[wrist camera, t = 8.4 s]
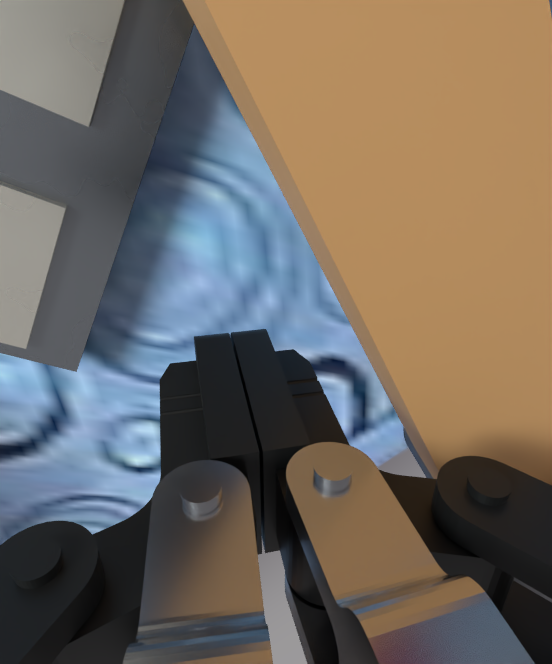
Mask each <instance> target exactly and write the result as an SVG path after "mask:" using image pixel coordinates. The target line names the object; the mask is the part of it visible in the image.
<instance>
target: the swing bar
mask: <svg viewBox="0 0 552 664" xmlns="http://www.w3.org/2000/svg"><path fill="white" fill-rule="evenodd" d="M183 2H184V4H185V6H186V8H187V10H188V12H189V14H190V16H191V17H192V19H193V21H194V23H195V25H196V27H197V29H198V31H199V33H200V35H201V37H202V39H203V41H204V43H205V44H206V46H207V48H208V50H209V52H210V54H211V56H212V58H213V60H214V62H215V64H216V66H217V68H218V70H219V71H220V73H221V75H222V77H223V79H224V81H225V83H226V85H227V87H228V89H229V91H230V93H231V95H232V97H233V98H234V100H235V102H236V104H237V106H238V108H239V110H240V112H241V114H242V116H243V118H244V120H245V122H246V124H247V125H248V127H249V129H250V131H251V133H252V135H253V137H254V139H255V141H256V143H257V145H258V147H259V149H260V151H261V152H262V154H263V156H264V158H265V160H266V162H267V164H268V166H269V168H270V170H271V172H272V174H273V176H274V178H275V179H276V181H277V183H278V185H279V187H280V189H281V191H282V193H283V195H284V197H285V199H286V201H287V203H288V205H289V206H290V208H291V210H292V212H293V214H294V216H295V218H296V220H297V222H298V224H299V226H300V228H301V230H302V232H303V233H304V235H305V237H306V239H307V241H308V243H309V245H310V247H311V249H312V251H313V253H314V255H315V257H316V259H317V260H318V262H319V264H320V266H321V268H322V270H323V272H324V274H325V276H326V278H327V280H328V282H329V284H330V286H331V287H332V289H333V291H334V293H335V295H336V297H337V299H338V301H339V303H340V305H341V307H342V309H343V311H344V313H345V314H346V316H347V318H348V320H349V322H350V324H351V326H352V328H353V330H354V332H355V334H356V336H357V338H358V340H359V341H360V343H361V345H362V347H363V349H364V351H365V353H366V355H367V357H368V359H369V361H370V363H371V365H372V367H373V368H374V370H375V372H376V374H377V376H378V378H379V380H380V382H381V384H382V386H383V388H384V390H385V392H386V394H387V395H388V397H389V399H390V401H391V403H392V405H393V407H394V409H395V411H396V413H397V415H398V417H399V419H400V421H401V422H402V424H403V426H404V438H405V441H406V444H407V446H408V447H409V449H410V451H411V452H412V454H413V456H414V457H415V459H416V461H417V462H418V464H419V466H420V467H421V469H422V471H423V472H424V474H425V475H426V477H427V478H431V479H437V476H438V472H439V470H440V469H441V467H442V466H443V465H444V464H445V463H447V462H448V461H450V460H452V459H454V458H457V457H462V456H480V457H486V458H490V459H494V460H497V461H499V462H502V463H504V464H506V465H508V466H511V467H513V468H515V469H517V470H519V471H521V472H524V473H526V474H528V475H530V476H532V477H534V478H537V479H539V480H541V481H543V482H545V483H547V484H550V485H552V16H551V10H550V4H549V0H183ZM514 581H516V582H517V583H519V584H521V585H522V586H524V587H526V588H528V589H529V590H531V591H533V592H534V593H536V594H538V595H540V596H541V597H543V598H545V599H546V600H548V601H550V602H552V599H551V598H549V597H547V596H546V595H544V594H542V593H541V592H539V591H537V590H535V589H534V588H532V587H530V586H528V585H527V584H525V583H523V582H522V581H520V580H518V579H516V578H514Z"/></svg>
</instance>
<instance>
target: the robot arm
mask: <svg viewBox="0 0 552 664" xmlns="http://www.w3.org/2000/svg"><path fill="white" fill-rule="evenodd" d="M194 344H195V354H196V361H189V362H180V363H171V364H170V365H169V366H168V368H167V369H166V371H165V373H164V374H163V376H162V377H161V379H160V439H161V478H160V482H159V484H158V485H157V487H156V489H155V491H154V493H153V497H152V498H151V500H150V501H149V502H148V503H147V504H146V505H145V506H144V507H143V508H142V509H141V510H140V511H138V512H137V513H136V514H134V515H133V516H131V517H130V518H128V519H126V520H124V521H122V522H120V523H118V524H116V525H113V526H111V527H109V528H107V529H104V530H102V531H100V532H98V533H95V534H93V535H92V534H91V533H90V532H89V531H88V530H87V529H86V528H84V527H83V526H81V525H79V524H76V523H74V522H68V521H51V522H45V523H41V524H37V525H34V526H32V527H29V528H27V529H25V530H23V531H21V532H19V533H17V534H15V535H14V536H12V537H11V538H9V539H8V540H7V541H5V542H4V543H3V544H2V545H0V664H273V661H272V653H271V645H270V638H269V632H268V626H267V624H266V622H265V616H264V608H263V599H262V590H261V581H260V572H259V563H258V554H262V540H263V545H264V549H265V553H268V552H273V551H278V550H280V552H281V556H282V560H283V564H284V569H285V593H286V598H287V601H288V604H289V607H290V610H291V613H292V617H293V620H294V623H295V626H296V629H297V632H298V636H299V639H300V642H301V645H302V648H303V651H304V654H305V657H306V661H307V664H552V602H550V601H548V600H546V599H545V598H543V597H541V596H540V595H538V594H536V593H534V592H533V591H531V590H529V589H528V588H526V587H524V586H522V585H521V584H519V583H517V582H516V581H514V578H516V579H518V580H520V581H522V582H523V583H525V584H527V585H528V586H530V587H532V588H534V589H535V590H537V591H539V592H541V593H542V594H544V595H546V596H547V597H549V598H551V599H552V485H550V484H547V483H545V482H543V481H541V480H539V479H537V478H534V477H532V476H530V475H528V474H526V473H524V472H521V471H519V470H517V469H515V468H513V467H511V466H508V465H506V464H504V463H502V462H499V461H497V460H494V459H490V458H486V457H480V456H462V457H457V458H454V459H452V460H450V461H448V462H447V463H445V464H444V465H443V466H442V467H441V469H440V470H439V472H438V476H437V479H431V478H421V477H410V476H402V475H395V474H390V473H387V472H384V471H381V470H378V468H377V467H376V465H375V464H374V462H373V461H372V460H371V459H370V458H369V457H368V456H367V455H366V454H365V453H363V452H362V451H360V450H358V449H356V448H354V447H352V446H350V445H349V443H348V441H347V439H346V437H345V435H344V433H343V431H342V428H341V426H340V424H339V422H338V420H337V418H336V416H335V414H334V412H333V410H332V408H331V406H330V403H329V401H328V399H327V397H326V395H325V394H324V392H323V389H322V387H321V385H320V383H319V381H317V376H316V374H315V372H314V370H313V368H312V366H311V364H310V362H309V361H308V360H306V359H305V358H304V357H303V356H301V355H300V354H299V353H297V352H296V351H295V350H284V351H274V348H273V345H272V343H271V340H270V338H269V335H268V332H267V330H266V329H260V330H251V331H241V332H232V333H231V338H230V334H229V333H223V334H214V335H204V336H195V337H194ZM261 535H262V537H261Z"/></svg>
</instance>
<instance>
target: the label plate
mask: <svg viewBox="0 0 552 664" xmlns="http://www.w3.org/2000/svg"><path fill="white" fill-rule="evenodd" d="M193 25H194V21H193V19H192V17H191V16H190V14H189V12H188V10H187V8H186V6H185V4H184V2H183V0H0V353H3V354H7V355H11V356H15V357H19V358H23V359H27V360H31V361H35V362H39V363H43V364H47V365H51V366H55V367H59V368H63V369H67V370H71V371H76V372H77V369H78V366H79V363H80V360H81V357H82V354H83V351H84V348H85V345H86V342H87V339H88V336H89V333H90V330H91V327H92V324H93V321H94V318H95V315H96V312H97V309H98V306H99V303H100V300H101V298H102V295H103V292H104V289H105V286H106V283H107V280H108V277H109V274H110V271H111V268H112V265H113V262H114V259H115V256H116V253H117V250H118V247H119V244H120V241H121V238H122V235H123V232H124V229H125V226H126V223H127V221H128V218H129V215H130V212H131V209H132V206H133V203H134V200H135V197H136V194H137V191H138V188H139V185H140V182H141V179H142V176H143V173H144V170H145V167H146V164H147V161H148V158H149V155H150V152H151V149H152V147H153V144H154V141H155V138H156V135H157V132H158V129H159V126H160V123H161V120H162V117H163V114H164V111H165V108H166V105H167V102H168V99H169V96H170V93H171V90H172V87H173V84H174V81H175V78H176V75H177V73H178V70H179V67H180V64H181V61H182V58H183V55H184V52H185V49H186V46H187V43H188V40H189V37H190V34H191V31H192V28H193Z"/></svg>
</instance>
